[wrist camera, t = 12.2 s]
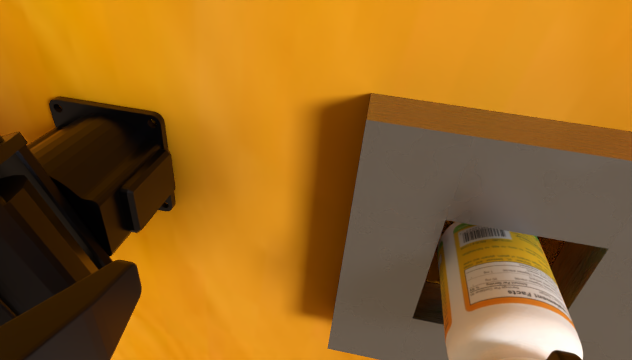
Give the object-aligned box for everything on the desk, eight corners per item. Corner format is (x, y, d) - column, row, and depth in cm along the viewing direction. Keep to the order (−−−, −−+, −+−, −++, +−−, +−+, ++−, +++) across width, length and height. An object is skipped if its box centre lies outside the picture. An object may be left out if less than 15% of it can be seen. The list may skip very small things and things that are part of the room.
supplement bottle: (491, 293, 25) (532, 472, 17) (417, 253, 24) (423, 420, 16) (561, 239, 22) (649, 426, 14) (479, 192, 21) (523, 359, 13)
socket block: (334, 310, 28) (327, 348, 26) (371, 93, 20) (366, 119, 17) (574, 359, 27) (592, 405, 24) (735, 147, 18) (787, 185, 15)
